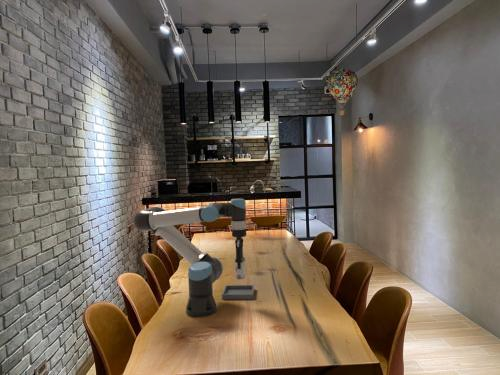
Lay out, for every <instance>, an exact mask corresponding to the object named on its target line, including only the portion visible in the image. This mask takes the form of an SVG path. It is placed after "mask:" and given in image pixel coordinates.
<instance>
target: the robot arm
mask: <svg viewBox="0 0 500 375" xmlns="http://www.w3.org/2000/svg"><path fill="white" fill-rule="evenodd" d="M246 211H247V206H246V200H245V199H244V198H232V199H231V200H230V202H218V201H217V202H216V201H215V202H210V203H209V204H208V205H204V206H203V205H202V206H196V207H188V208H181V209H173V210H172V209H171V210H165V209H164V208H163V207H159V206H153V207H149V208H145V209H141V210H138V211H137V212H136V214H134V216H133V222H132V223H133V226H134V227H135V229H136V230H138V231H140V232H144V233H145V232H146V233H147V232H150V231H151V233H152V234H154V235H155V236H156V237H157V236H160V237H161V238H162V239H163V240H164V241H165V242H166V243H167V244H168V245H169V246H171V248H173V250H175V251H176V253H178V254H179V255H180V256H181V257H183V259H185V260H186V262H188V263H189V264H190V265H189V266H188V268H187V269H188V272H187V276H188V277H187V278H188V279H187V280H188V299H187V304H186V305H185V306H186V307H185V313H186V315H187V316H189V317H196V318H204V317H208V316H211V315H213V314H215V313H216V312H217V310H218V309H217V303H216V300H215V297H214V294H213V284H214V283H215V282H216V281H217V280H219V278H220V277H221V276H222V274H223V272H224V267H223V266H224V265H223V263H222V261H221V260H220V259H219V258H217V257H215V256H214V257H213V256H211V255H210V254H209V253H207V252H202V250H200V249H199V248H198V247H197V246H196V245H195V244H193V243H192V242H191V241H190V239H188V238H187V237H186V236H185V235H184V234H182V233H181V231H180V230H178V228H176V227H175V226H179V225H187V224H194V223H195V224H197V223H202V222H203V223H205V222H207V223H211V222H214V221H216V220H219V219H220V218H231V222H230V223H231V224H230V225H231V237H233V238H236V239H235V240H234V243H235V244H234V245H235V258H236V261H235V260H234V264H235V263H237V275H242V261H241V257H242V258H245V257H244V250H243V248H244V239H243V238H245V237H247V229H246V228H247V224H248V222H247V212H246Z"/></svg>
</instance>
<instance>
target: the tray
mask: <svg viewBox="0 0 500 375" xmlns="http://www.w3.org/2000/svg"><path fill="white" fill-rule="evenodd" d="M254 293H255V285H254V284H243V285H242V284H233V285H230V284H229V285H228V284H226V285H225V286H224V288H223V290H222V294H221V300H254Z"/></svg>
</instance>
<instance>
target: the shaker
mask: <svg viewBox="0 0 500 375" xmlns="http://www.w3.org/2000/svg"><path fill="white" fill-rule="evenodd" d="M235 261H236V257H235V258H234V265H235V267H234V268H235V269H234V270H235V279H236V280H245V279H246V258H245V257H244V258H242V257H241V261H242V275H237V263H235Z"/></svg>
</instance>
